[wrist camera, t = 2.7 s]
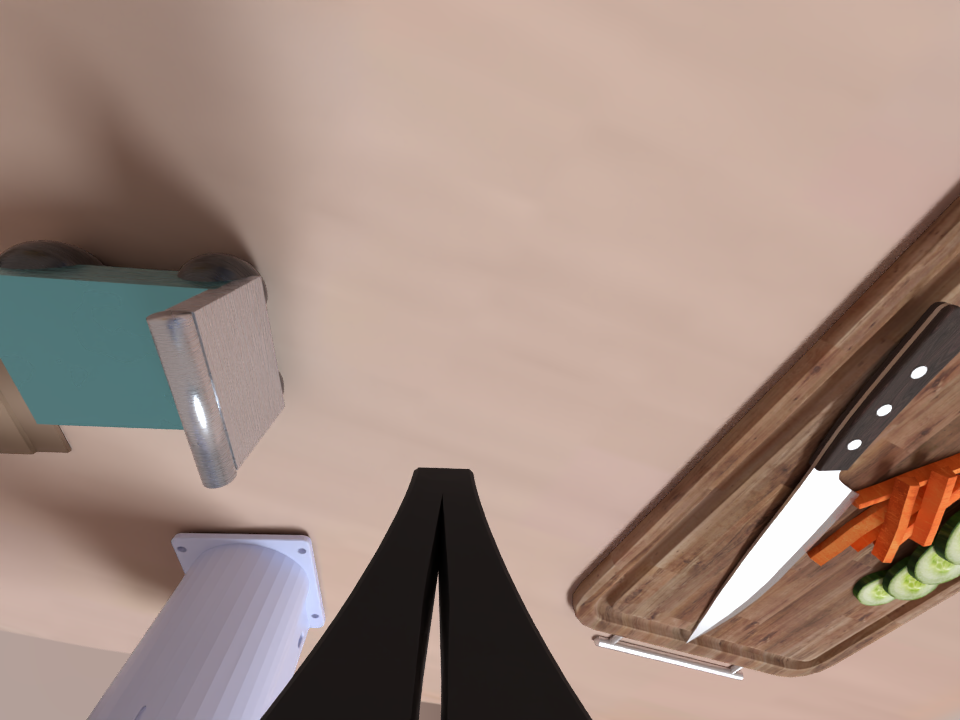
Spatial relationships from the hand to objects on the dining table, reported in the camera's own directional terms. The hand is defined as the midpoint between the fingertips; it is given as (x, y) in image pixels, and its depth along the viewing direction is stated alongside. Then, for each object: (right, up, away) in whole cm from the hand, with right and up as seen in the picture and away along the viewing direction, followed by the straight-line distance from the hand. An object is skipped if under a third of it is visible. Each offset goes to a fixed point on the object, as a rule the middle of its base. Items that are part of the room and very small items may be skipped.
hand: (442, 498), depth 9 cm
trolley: (-12, +5, +7) cm, 15 cm away
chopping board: (+28, -4, +15) cm, 32 cm away
